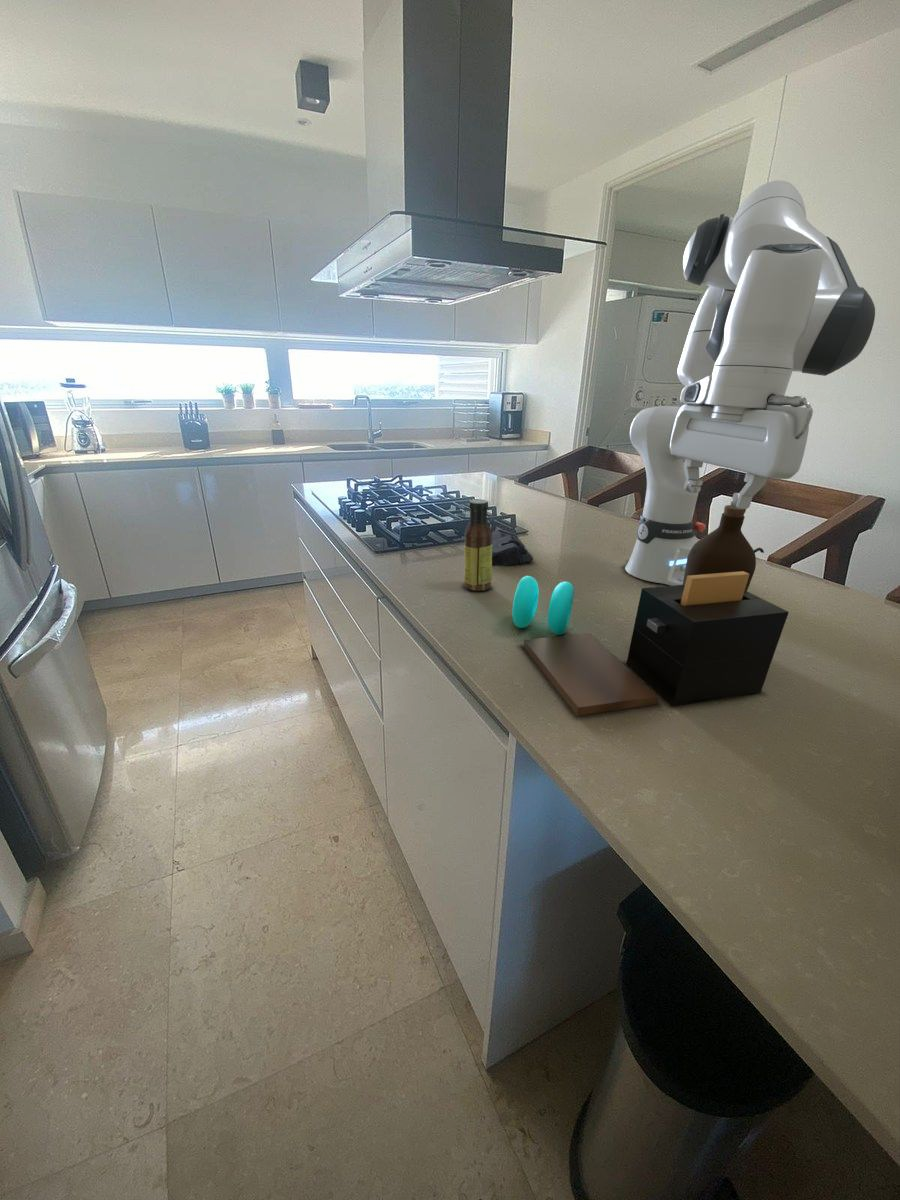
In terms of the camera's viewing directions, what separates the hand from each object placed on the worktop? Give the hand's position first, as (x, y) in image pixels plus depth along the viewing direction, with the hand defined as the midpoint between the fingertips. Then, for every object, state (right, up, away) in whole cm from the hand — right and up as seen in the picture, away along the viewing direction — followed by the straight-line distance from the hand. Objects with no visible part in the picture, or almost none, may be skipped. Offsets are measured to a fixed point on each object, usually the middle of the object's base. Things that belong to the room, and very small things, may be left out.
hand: (713, 499), depth 69 cm
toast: (+2, -20, +7) cm, 22 cm away
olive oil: (+10, -22, +23) cm, 33 cm away
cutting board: (-15, -26, +11) cm, 32 cm away
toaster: (+2, -27, +10) cm, 29 cm away
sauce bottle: (-31, -11, +43) cm, 54 cm away
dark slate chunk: (-23, -1, +66) cm, 70 cm away
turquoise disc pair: (-20, -20, +25) cm, 37 cm away
